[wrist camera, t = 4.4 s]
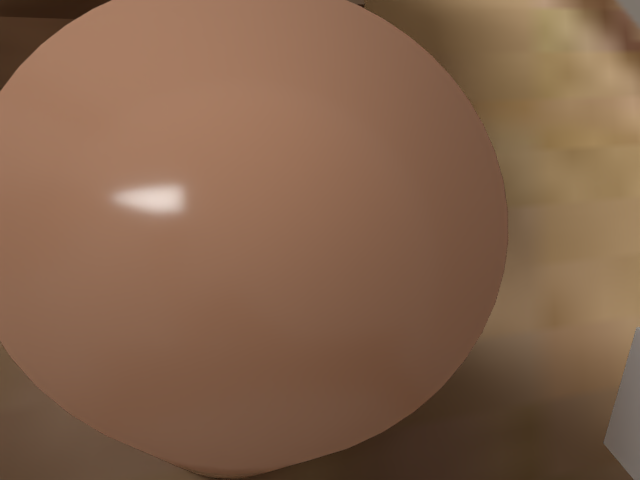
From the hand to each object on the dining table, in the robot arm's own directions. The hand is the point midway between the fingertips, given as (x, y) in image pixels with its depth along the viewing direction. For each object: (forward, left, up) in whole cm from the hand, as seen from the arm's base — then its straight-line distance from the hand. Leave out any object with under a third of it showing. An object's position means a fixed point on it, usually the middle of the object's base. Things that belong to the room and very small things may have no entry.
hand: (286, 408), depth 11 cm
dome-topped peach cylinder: (-1, +2, -8) cm, 8 cm away
